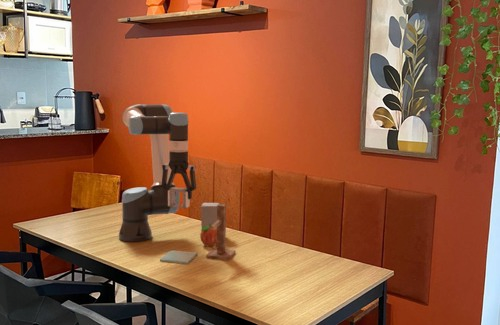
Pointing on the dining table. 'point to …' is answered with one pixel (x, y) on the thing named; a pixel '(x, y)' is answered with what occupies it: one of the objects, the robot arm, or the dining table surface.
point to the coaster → (178, 257)
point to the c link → (172, 197)
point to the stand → (220, 236)
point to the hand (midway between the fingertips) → (178, 205)
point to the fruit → (208, 236)
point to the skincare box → (208, 214)
